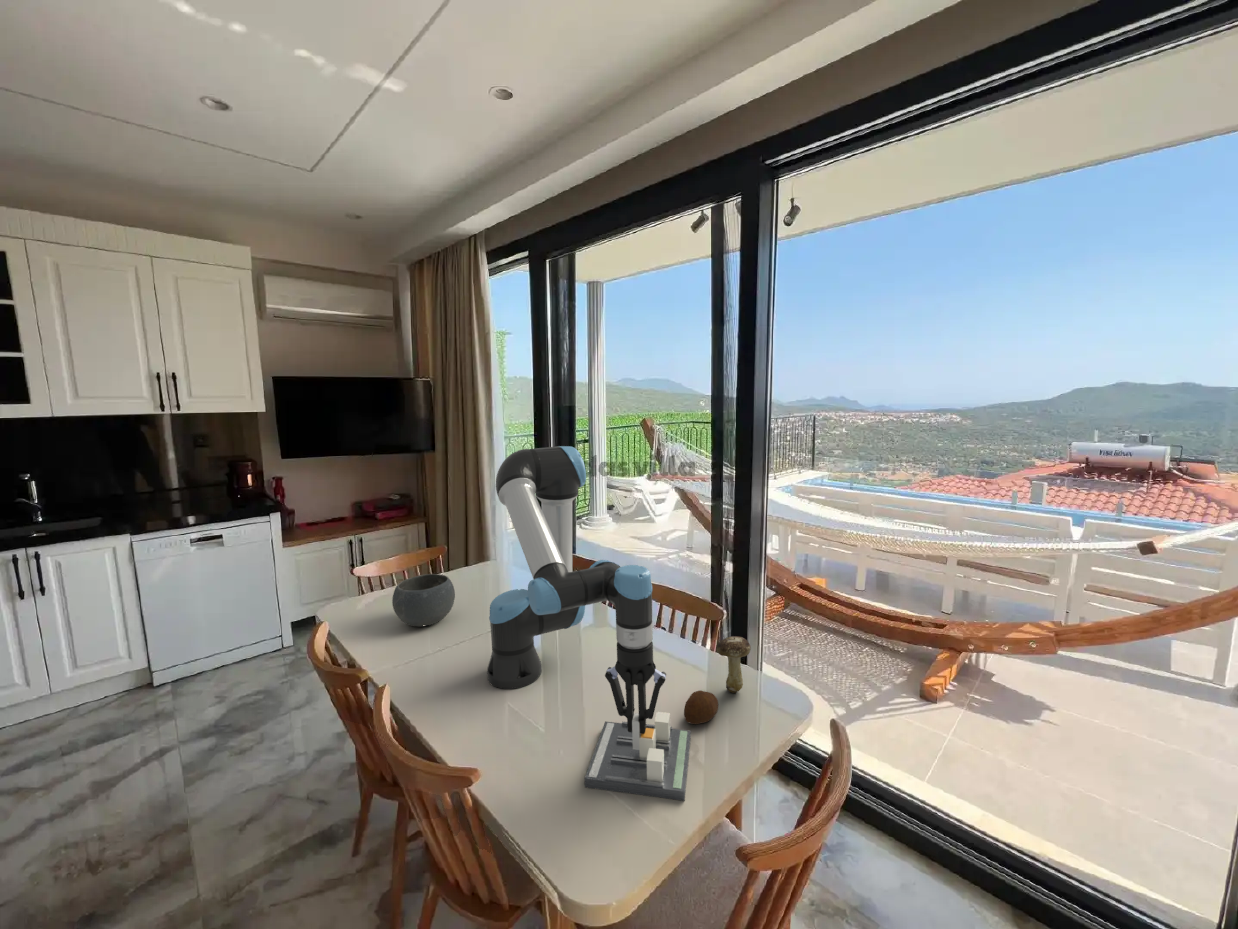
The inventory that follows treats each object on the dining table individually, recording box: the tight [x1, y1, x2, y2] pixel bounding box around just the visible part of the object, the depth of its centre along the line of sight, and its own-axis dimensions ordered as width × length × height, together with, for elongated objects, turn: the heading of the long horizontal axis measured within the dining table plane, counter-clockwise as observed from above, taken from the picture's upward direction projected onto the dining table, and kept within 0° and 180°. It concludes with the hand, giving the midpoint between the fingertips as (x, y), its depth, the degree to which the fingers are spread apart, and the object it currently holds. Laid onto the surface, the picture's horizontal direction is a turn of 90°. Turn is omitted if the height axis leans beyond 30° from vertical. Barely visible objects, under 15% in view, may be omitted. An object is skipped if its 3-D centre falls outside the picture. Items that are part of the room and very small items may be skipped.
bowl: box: [391, 573, 456, 627], centre depth 178 cm, size 20×20×15 cm
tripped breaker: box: [639, 728, 656, 759], centre depth 107 cm, size 3×4×5 cm
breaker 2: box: [647, 748, 664, 783], centre depth 101 cm, size 3×4×4 cm
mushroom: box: [716, 635, 752, 694], centre depth 131 cm, size 9×9×15 cm
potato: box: [683, 690, 719, 725], centre depth 122 cm, size 7×10×7 cm
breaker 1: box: [654, 711, 671, 741], centre depth 113 cm, size 3×4×4 cm
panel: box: [584, 721, 692, 802], centre depth 108 cm, size 20×18×3 cm
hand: (637, 745), depth 108 cm, fingers closed
